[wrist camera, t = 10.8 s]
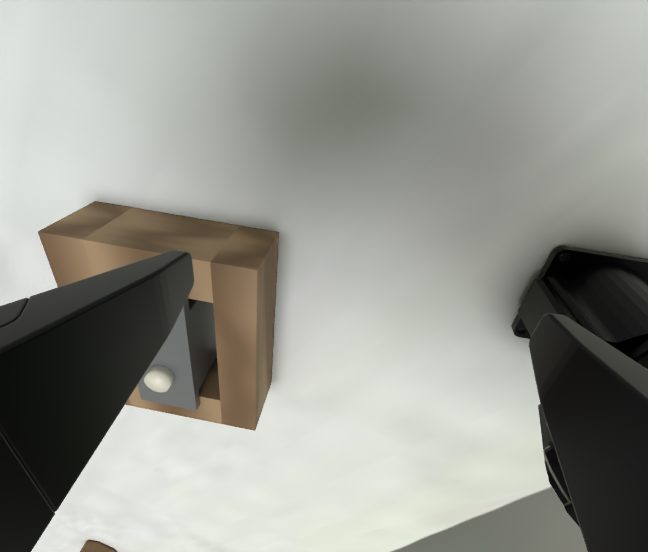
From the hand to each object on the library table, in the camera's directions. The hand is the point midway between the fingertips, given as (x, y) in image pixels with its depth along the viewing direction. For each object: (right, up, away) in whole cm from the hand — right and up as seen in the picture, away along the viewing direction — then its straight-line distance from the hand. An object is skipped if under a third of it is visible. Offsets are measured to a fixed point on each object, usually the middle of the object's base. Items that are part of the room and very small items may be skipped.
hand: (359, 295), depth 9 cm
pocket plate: (-10, -2, +17) cm, 20 cm away
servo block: (-10, -2, +17) cm, 20 cm away
